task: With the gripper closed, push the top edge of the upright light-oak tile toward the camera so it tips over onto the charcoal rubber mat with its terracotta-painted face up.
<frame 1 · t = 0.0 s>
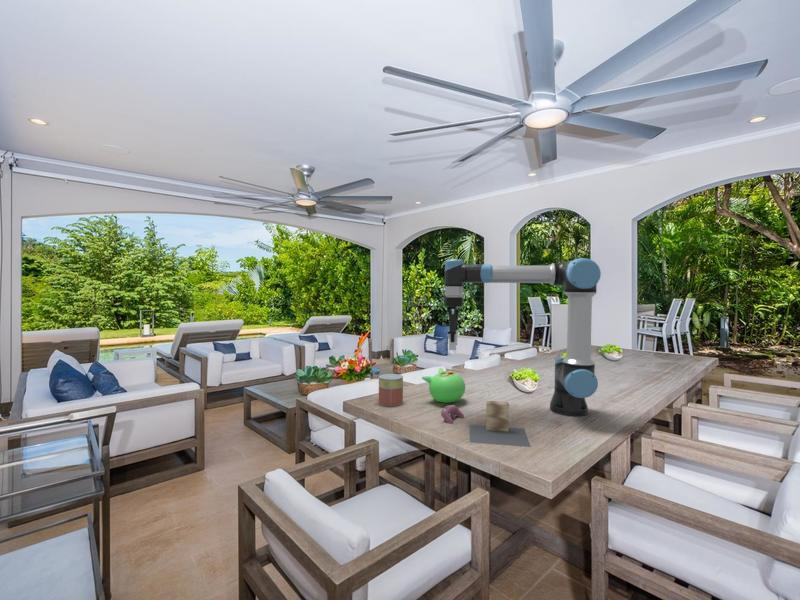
hand: (453, 347, 163), 28 cm above the table, fingers open, 13 cm apart
toy bird: (446, 401, 181), on the table
oak tile: (497, 429, 144), point 1 cm above the table, touching rubber mat
rubber mat: (498, 436, 139), on the table
canned food: (390, 402, 179), on the table
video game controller: (452, 421, 155), on the table
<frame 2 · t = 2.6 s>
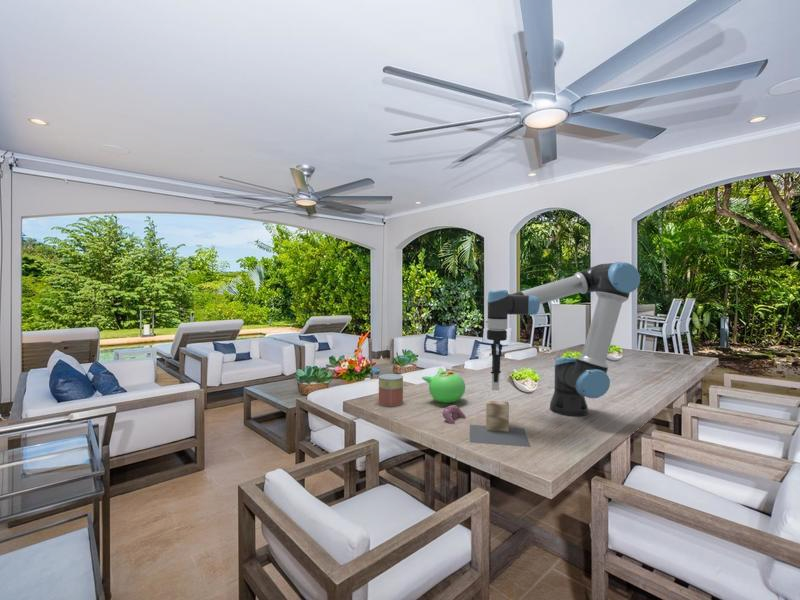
hand: (495, 389, 152), 13 cm above the table, fingers closed
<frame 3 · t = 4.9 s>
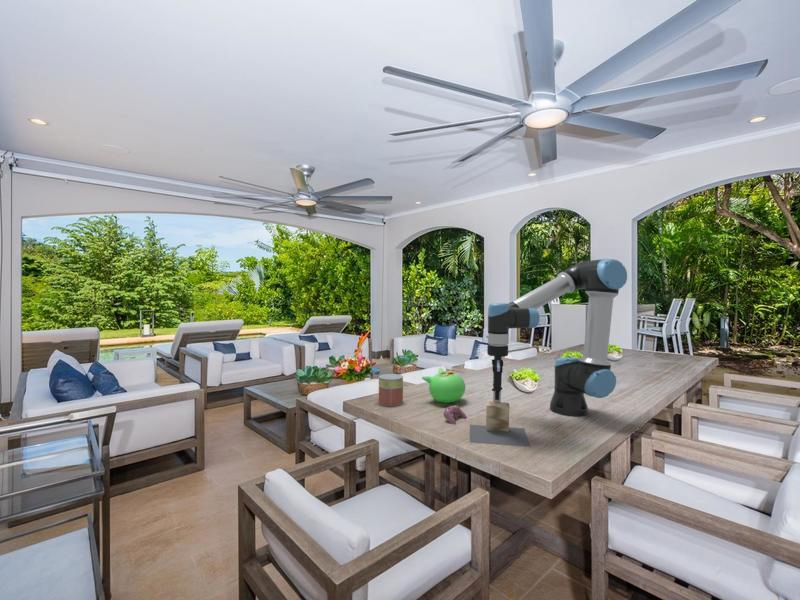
hand: (496, 407, 145), 9 cm above the table, fingers closed
oak tile: (497, 428, 144), point 1 cm above the table, tilted 12°, touching rubber mat
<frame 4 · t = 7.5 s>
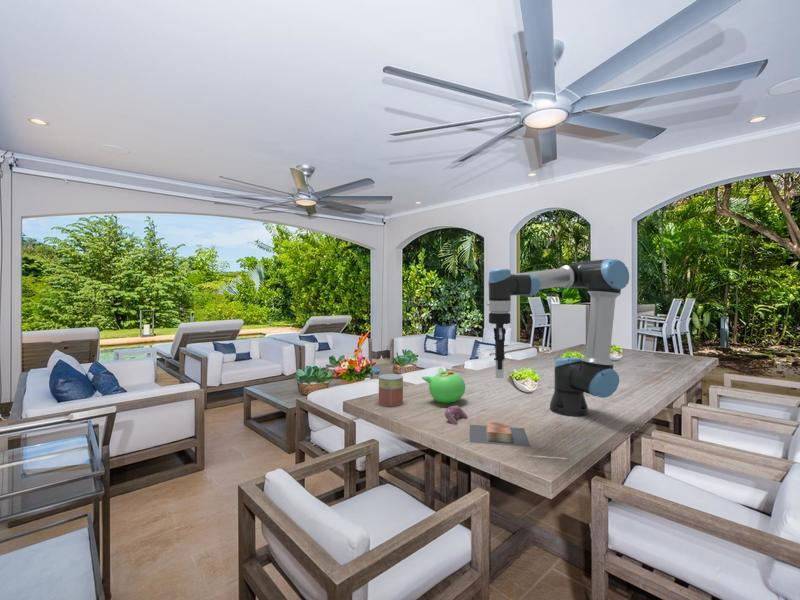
hand: (499, 377, 140), 21 cm above the table, fingers closed
oak tile: (497, 426, 143), point 2 cm above the table, tilted 90°, touching rubber mat
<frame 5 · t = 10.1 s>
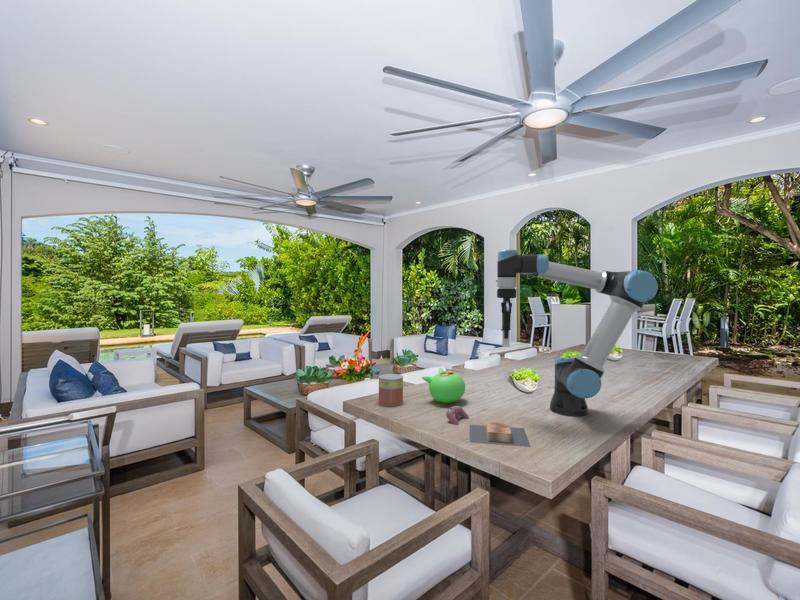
hand: (505, 346, 157), 29 cm above the table, fingers closed
at the end: oak tile tilted 90°; oak tile inside the target area on the rubber mat (3.4 cm from its centre), point 2.1 cm above the rubber mat's base; oak tile touching rubber mat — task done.
